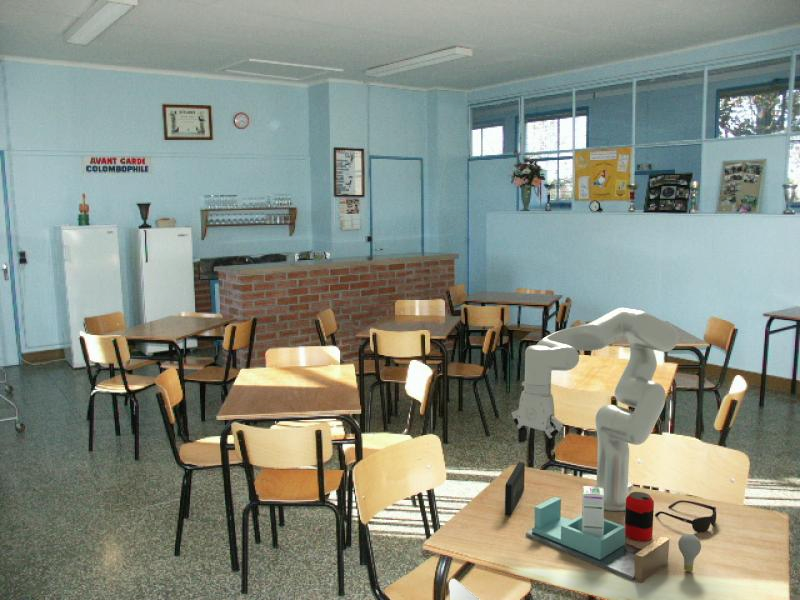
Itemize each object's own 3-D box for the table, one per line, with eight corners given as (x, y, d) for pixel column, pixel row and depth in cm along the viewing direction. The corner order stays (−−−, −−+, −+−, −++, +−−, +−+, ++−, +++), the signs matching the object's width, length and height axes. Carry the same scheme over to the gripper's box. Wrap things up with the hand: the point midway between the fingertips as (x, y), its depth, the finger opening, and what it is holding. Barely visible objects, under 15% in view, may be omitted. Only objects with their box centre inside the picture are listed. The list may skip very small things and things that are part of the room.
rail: (556, 519, 217) (557, 497, 216) (668, 563, 191) (670, 538, 190) (525, 535, 207) (526, 512, 206) (640, 583, 181) (641, 557, 180)
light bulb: (673, 566, 189) (675, 530, 188) (693, 565, 190) (695, 529, 188) (683, 577, 184) (685, 540, 183) (703, 576, 185) (705, 539, 183)
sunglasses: (700, 537, 206) (701, 521, 205) (649, 519, 218) (650, 503, 217) (721, 523, 215) (722, 507, 215) (671, 506, 227) (672, 491, 226)
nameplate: (510, 516, 220) (511, 485, 218) (504, 515, 220) (505, 484, 219) (524, 490, 239) (524, 461, 238) (518, 489, 240) (519, 460, 238)
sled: (557, 518, 215) (557, 495, 214) (624, 544, 199) (625, 519, 198) (531, 531, 207) (532, 507, 206) (600, 559, 191) (601, 534, 190)
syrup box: (603, 546, 196) (605, 495, 194) (581, 543, 197) (582, 493, 195) (602, 536, 201) (604, 486, 199) (580, 534, 203) (582, 485, 200)
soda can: (638, 544, 202) (640, 503, 200) (618, 533, 208) (620, 493, 207) (658, 538, 205) (660, 498, 204) (638, 527, 212) (639, 488, 210)
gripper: (505, 385, 211) (504, 441, 214) (555, 397, 199) (553, 456, 201) (521, 380, 217) (519, 435, 219) (570, 392, 204) (568, 450, 207)
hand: (535, 445), depth 210 cm, fingers open, 9 cm apart
